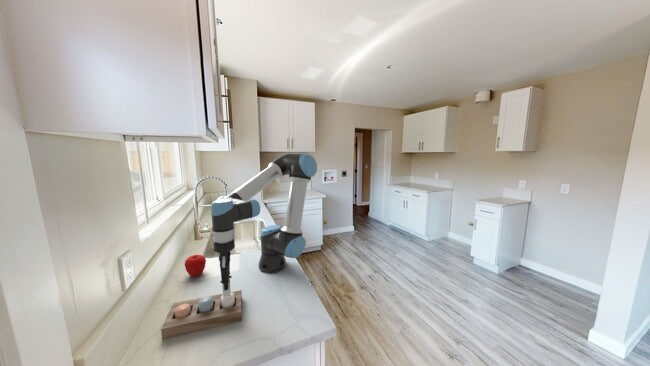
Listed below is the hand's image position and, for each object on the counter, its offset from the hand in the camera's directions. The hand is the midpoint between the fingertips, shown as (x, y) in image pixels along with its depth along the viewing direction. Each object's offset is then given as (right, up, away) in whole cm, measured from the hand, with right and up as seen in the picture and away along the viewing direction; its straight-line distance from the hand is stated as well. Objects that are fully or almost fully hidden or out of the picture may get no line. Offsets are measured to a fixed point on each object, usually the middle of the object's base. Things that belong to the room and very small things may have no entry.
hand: (226, 295), depth 90 cm
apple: (-28, -3, +28) cm, 40 cm away
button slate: (-7, -6, -2) cm, 10 cm away
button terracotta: (-15, -7, -4) cm, 17 cm away
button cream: (0, -5, +1) cm, 6 cm away
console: (-7, -8, -1) cm, 11 cm away
